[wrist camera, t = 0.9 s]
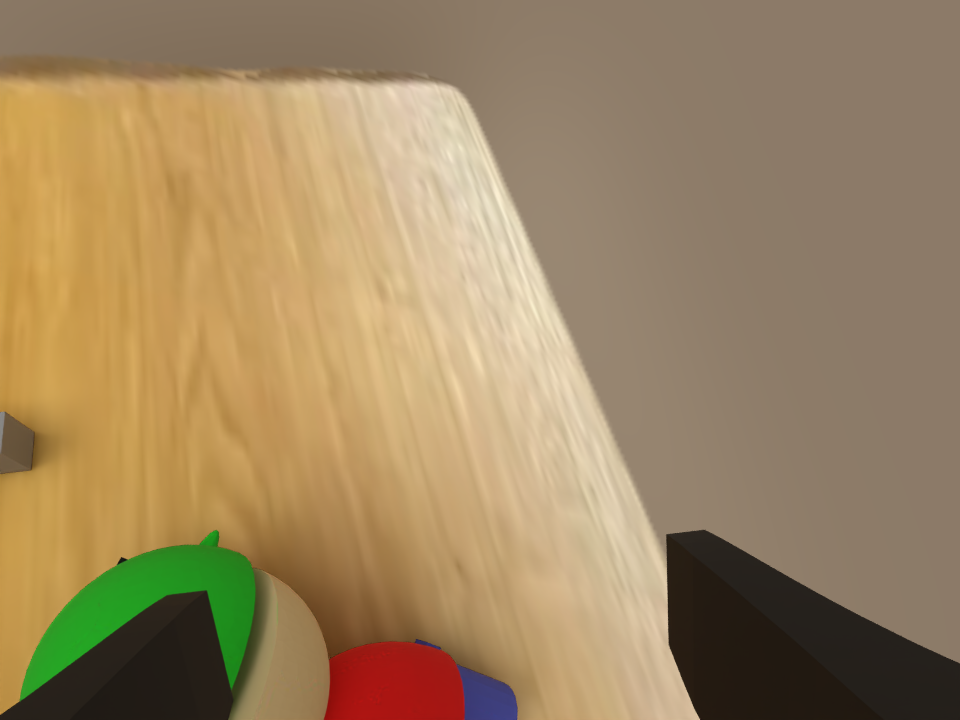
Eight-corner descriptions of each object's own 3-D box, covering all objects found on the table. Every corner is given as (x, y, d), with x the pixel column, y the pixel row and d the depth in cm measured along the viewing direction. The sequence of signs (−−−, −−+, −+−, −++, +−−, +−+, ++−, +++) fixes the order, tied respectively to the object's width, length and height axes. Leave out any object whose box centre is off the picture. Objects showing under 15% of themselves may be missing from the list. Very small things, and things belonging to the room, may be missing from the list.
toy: (432, 624, 27) (107, 485, 19) (568, 663, 22) (187, 487, 14) (357, 850, 23) (-89, 790, 15) (499, 969, 18) (-90, 970, 10)
